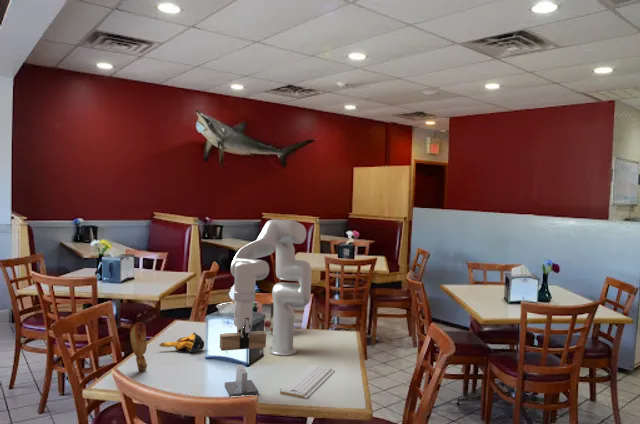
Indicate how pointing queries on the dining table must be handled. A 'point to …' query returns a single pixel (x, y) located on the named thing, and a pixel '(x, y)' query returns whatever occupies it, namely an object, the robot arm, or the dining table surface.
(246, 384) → the ridge stand
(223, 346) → the tan long block
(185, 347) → the fried shrimp in bowl
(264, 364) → the dining table surface
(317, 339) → the dining table surface
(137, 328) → the crab claw
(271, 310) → the coffee box
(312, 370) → the baseboard molding
